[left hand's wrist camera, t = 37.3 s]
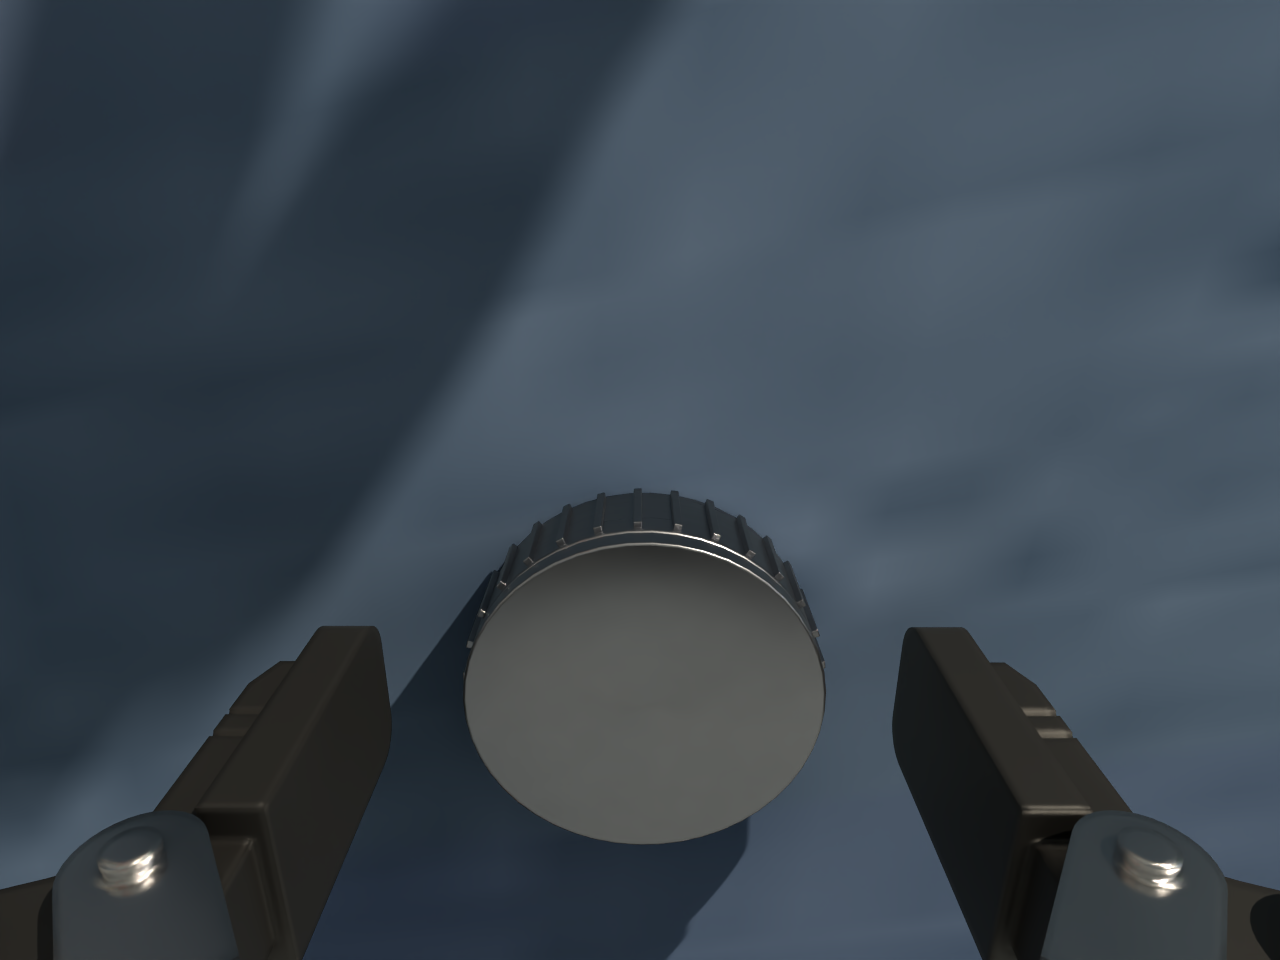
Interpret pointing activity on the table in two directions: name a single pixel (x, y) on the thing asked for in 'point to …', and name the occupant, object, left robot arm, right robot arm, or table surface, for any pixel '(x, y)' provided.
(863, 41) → the table surface
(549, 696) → the lid
